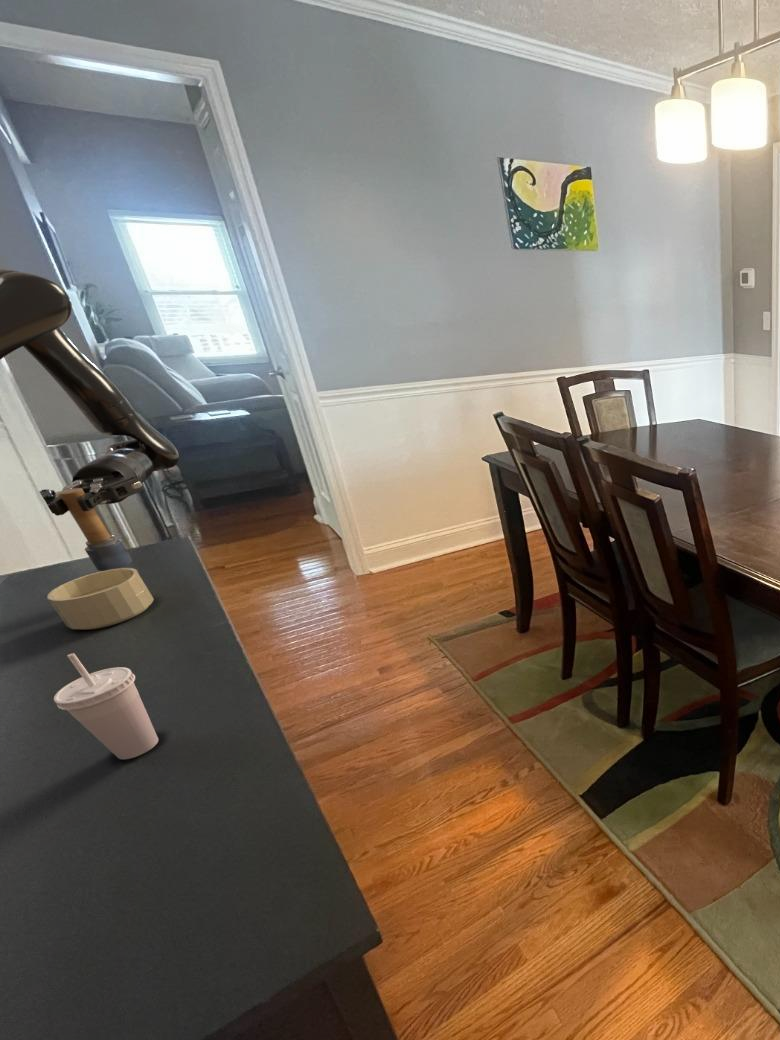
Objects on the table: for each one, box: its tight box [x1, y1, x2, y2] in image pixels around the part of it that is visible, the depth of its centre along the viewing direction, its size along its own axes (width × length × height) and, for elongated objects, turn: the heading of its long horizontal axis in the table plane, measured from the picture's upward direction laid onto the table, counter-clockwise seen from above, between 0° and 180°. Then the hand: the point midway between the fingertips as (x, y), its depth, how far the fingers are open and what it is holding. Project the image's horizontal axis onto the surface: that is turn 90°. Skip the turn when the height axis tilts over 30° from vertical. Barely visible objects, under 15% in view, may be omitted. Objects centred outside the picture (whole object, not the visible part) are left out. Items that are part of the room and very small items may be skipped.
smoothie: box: [53, 652, 159, 760], centre depth 68 cm, size 6×6×14 cm
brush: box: [59, 488, 133, 572], centre depth 102 cm, size 5×5×14 cm
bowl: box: [46, 567, 155, 631], centre depth 98 cm, size 11×11×6 cm
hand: (69, 507), depth 98 cm, fingers closed on brush, 3 cm apart
